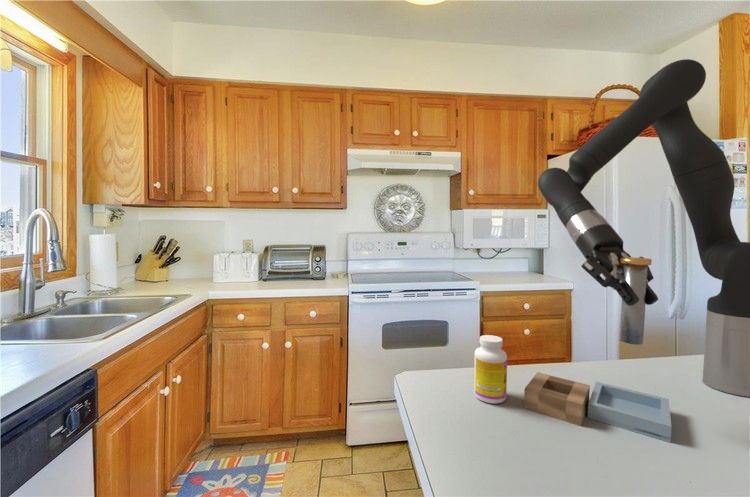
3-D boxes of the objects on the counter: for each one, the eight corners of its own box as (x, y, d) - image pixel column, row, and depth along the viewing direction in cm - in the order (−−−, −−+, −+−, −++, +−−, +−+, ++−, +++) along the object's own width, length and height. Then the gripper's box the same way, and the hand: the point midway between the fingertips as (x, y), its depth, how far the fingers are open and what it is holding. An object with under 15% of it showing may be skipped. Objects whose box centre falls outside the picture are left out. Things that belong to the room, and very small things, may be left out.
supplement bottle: (508, 406, 69) (510, 344, 68) (475, 403, 70) (476, 342, 69) (503, 391, 75) (504, 334, 75) (472, 388, 77) (473, 332, 76)
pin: (617, 335, 68) (621, 256, 67) (646, 340, 65) (651, 258, 64) (615, 341, 65) (620, 258, 64) (646, 347, 62) (651, 260, 61)
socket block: (536, 389, 76) (537, 372, 76) (589, 404, 70) (589, 385, 70) (524, 407, 68) (524, 388, 68) (581, 426, 62) (582, 404, 62)
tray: (595, 393, 74) (596, 381, 74) (667, 412, 67) (668, 398, 66) (587, 417, 65) (588, 403, 65) (670, 442, 57) (671, 426, 57)
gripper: (574, 222, 70) (625, 292, 58) (632, 223, 72) (691, 290, 61) (555, 247, 75) (598, 315, 64) (609, 246, 78) (660, 311, 67)
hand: (643, 302), depth 63 cm, fingers closed on pin, 3 cm apart
